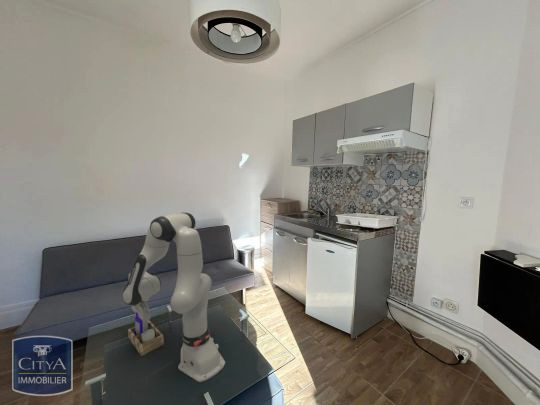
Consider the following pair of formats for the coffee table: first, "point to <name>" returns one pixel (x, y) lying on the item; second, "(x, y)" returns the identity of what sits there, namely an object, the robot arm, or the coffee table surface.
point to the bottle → (139, 325)
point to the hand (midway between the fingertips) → (141, 322)
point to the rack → (148, 345)
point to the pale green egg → (148, 335)
